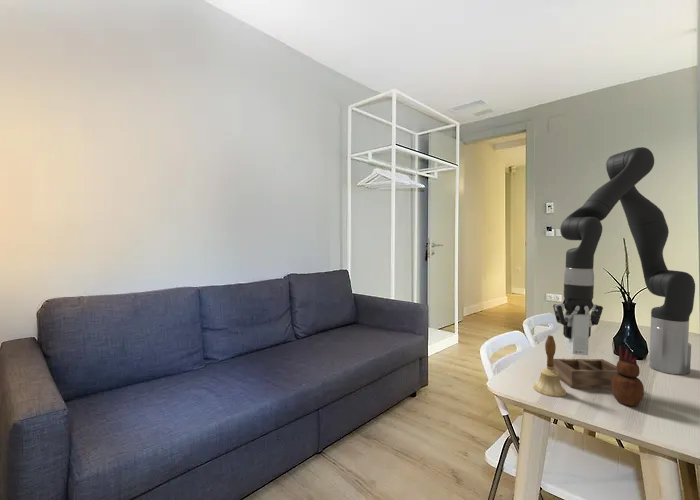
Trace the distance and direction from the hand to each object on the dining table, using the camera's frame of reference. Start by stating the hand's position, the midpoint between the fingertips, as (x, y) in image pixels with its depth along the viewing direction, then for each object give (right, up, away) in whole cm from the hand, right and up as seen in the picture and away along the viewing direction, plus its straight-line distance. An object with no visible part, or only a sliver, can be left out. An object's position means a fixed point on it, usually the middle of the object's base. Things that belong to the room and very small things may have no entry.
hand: (576, 337), depth 103 cm
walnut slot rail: (+4, -13, 0) cm, 14 cm away
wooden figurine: (+4, -14, -13) cm, 20 cm away
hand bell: (-12, -14, -6) cm, 19 cm away
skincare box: (0, -5, 0) cm, 5 cm away
